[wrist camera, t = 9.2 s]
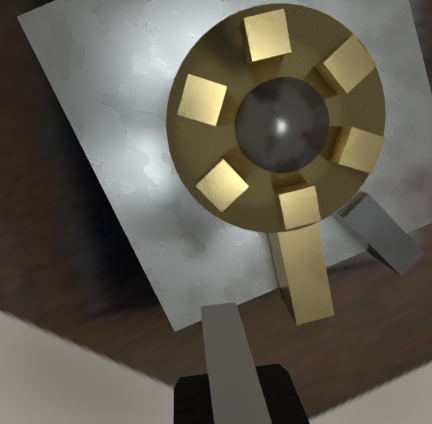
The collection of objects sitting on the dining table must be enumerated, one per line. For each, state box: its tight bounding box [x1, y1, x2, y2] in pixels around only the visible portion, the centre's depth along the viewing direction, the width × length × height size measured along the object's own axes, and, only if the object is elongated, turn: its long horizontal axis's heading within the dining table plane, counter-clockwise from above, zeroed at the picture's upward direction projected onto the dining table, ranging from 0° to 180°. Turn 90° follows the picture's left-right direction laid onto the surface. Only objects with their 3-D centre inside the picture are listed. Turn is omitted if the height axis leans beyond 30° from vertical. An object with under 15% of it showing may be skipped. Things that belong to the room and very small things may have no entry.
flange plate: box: [17, 0, 432, 331], centre depth 22 cm, size 20×20×6 cm
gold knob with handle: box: [166, 3, 386, 325], centre depth 21 cm, size 16×11×4 cm, turn 13°
